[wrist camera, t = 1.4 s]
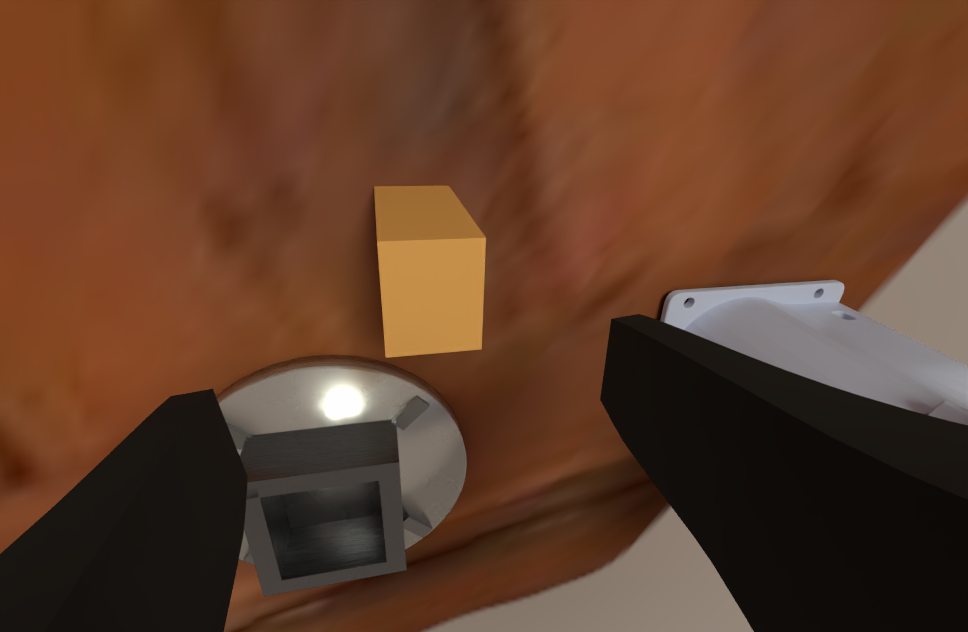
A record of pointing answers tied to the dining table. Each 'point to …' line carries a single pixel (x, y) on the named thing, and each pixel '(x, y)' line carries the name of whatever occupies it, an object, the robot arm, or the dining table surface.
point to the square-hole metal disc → (340, 468)
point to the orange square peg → (429, 271)
